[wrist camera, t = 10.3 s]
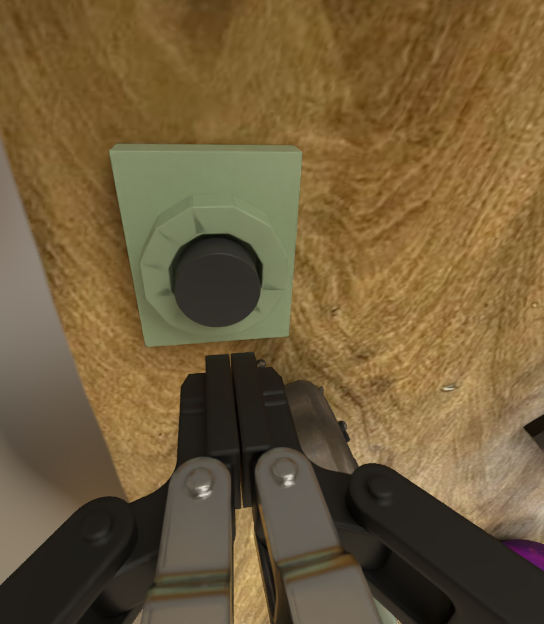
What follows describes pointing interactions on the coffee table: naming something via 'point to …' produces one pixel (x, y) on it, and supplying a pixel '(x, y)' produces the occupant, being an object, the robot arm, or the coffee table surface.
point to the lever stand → (537, 431)
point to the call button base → (208, 228)
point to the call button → (216, 282)
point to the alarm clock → (318, 427)
